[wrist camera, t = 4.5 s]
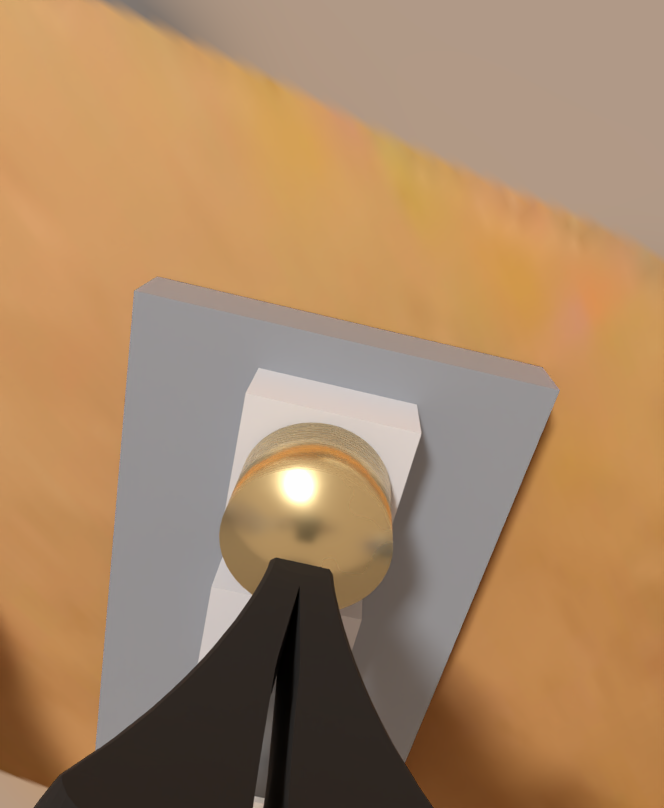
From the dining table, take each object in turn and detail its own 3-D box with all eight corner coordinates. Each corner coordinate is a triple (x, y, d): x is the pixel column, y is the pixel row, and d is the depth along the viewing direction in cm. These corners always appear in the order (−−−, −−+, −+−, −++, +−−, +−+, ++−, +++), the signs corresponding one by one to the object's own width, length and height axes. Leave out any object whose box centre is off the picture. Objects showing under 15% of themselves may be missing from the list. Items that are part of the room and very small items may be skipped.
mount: (112, 727, 28) (72, 814, 25) (157, 276, 19) (106, 307, 16) (377, 784, 29) (377, 878, 25) (542, 367, 20) (580, 418, 16)
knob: (243, 498, 20) (208, 592, 16) (266, 380, 18) (233, 451, 14) (370, 527, 20) (368, 628, 16) (404, 412, 18) (413, 492, 14)
